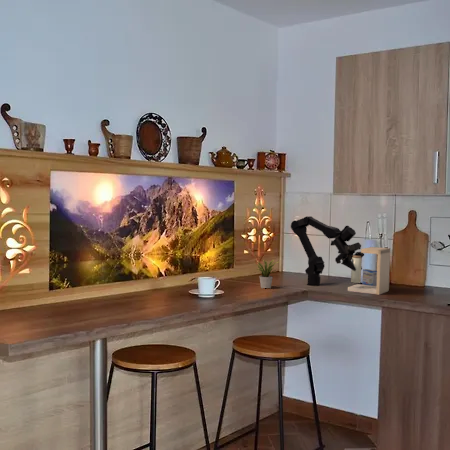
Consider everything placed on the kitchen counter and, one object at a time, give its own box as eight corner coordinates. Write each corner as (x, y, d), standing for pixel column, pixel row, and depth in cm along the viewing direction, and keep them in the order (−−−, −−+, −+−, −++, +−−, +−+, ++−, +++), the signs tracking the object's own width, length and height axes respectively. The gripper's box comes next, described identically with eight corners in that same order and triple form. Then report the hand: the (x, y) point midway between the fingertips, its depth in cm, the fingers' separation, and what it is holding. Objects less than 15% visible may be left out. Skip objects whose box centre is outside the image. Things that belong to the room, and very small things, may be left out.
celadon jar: (350, 282, 345) (352, 256, 344) (350, 281, 350) (352, 254, 349) (360, 283, 345) (362, 256, 343) (360, 281, 349) (361, 255, 348)
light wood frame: (346, 291, 349) (348, 248, 347) (357, 287, 362) (359, 246, 361) (379, 294, 340) (380, 250, 338) (388, 290, 353) (390, 248, 352)
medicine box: (361, 284, 375) (362, 269, 375) (367, 283, 378) (367, 268, 377) (372, 286, 369) (373, 270, 368) (378, 285, 372) (378, 270, 371)
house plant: (281, 286, 360) (282, 256, 359) (281, 290, 346) (282, 259, 345) (255, 285, 361) (256, 255, 360) (254, 289, 347) (255, 258, 346)
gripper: (340, 238, 342) (357, 261, 335) (362, 236, 355) (378, 259, 348) (328, 251, 349) (343, 274, 341) (349, 249, 361) (365, 272, 354)
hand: (358, 270), depth 346 cm, fingers closed on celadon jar, 5 cm apart
